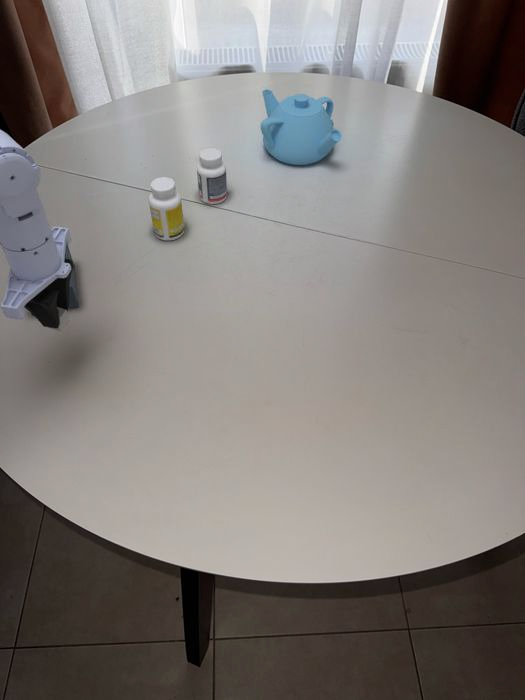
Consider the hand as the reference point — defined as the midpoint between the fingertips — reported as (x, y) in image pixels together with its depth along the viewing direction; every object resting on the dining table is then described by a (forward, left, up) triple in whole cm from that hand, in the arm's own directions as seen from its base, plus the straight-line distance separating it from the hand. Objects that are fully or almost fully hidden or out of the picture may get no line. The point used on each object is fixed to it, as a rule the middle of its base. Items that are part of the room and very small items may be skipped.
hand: (56, 317), depth 76 cm
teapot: (+39, +53, -9) cm, 67 cm away
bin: (-5, +15, -9) cm, 18 cm away
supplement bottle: (+13, +28, -9) cm, 33 cm away
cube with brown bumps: (0, 0, -2) cm, 2 cm away
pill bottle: (+21, +38, -9) cm, 45 cm away
